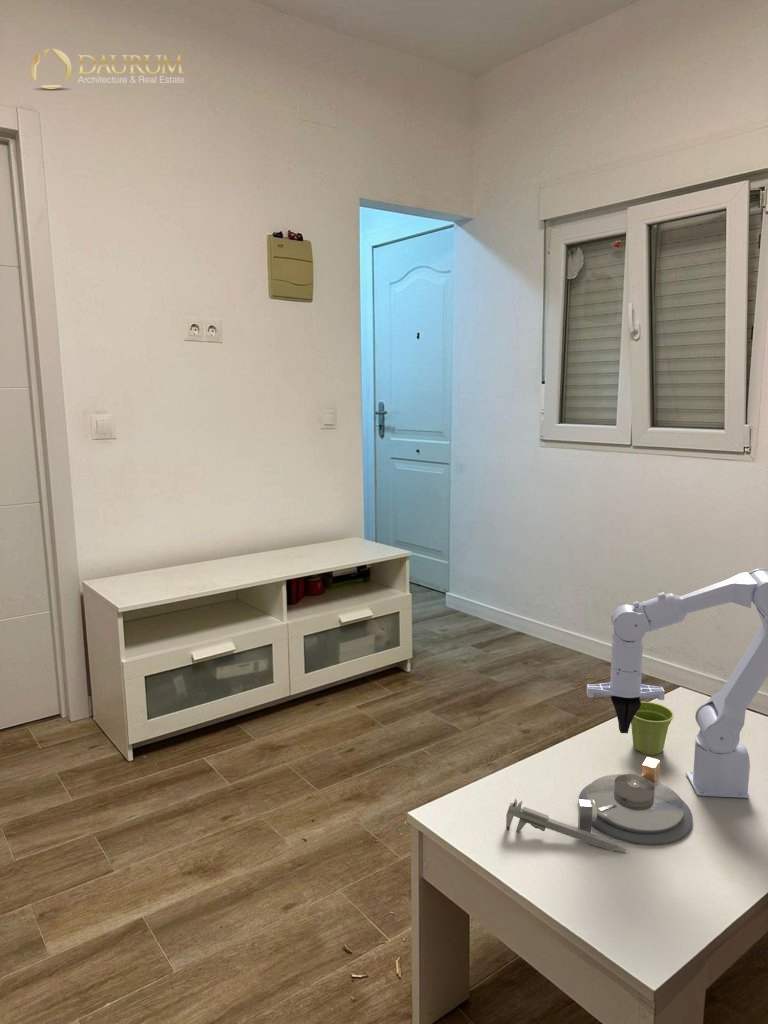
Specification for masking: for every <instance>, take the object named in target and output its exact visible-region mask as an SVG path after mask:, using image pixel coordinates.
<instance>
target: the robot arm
mask: <svg viewBox="0 0 768 1024" xmlns="http://www.w3.org/2000/svg"><path fill="white" fill-rule="evenodd" d="M728 603H729V604H731V603H733V604H736V605H739V606H742V607H745V608H749V609H751V608H752V604H753V605H754V606H755V607H756V610H757V613H758V615H759V617H760V621H761V623H762V625H761V626H760V627H759V630H758V631H757V632H756V634H755V636H754V638H753V639H752V640H751V642H750V643H749V645H748V647H747V648H746V651H745V652H744V654H743V655H742V656H741V658H740V659H739V661H738V663H737V665H736V666H735V667H734V669H733V671H731V674H730V676H729V677H728V678H727V680H726V682H725V683H724V685H723V686H722V688H721V690H720V691H719V692H716V693H714V694H712V695H711V697H710V699H708V700H707V701H706V702H704V703H703V704H701V705H700V706H699V707H698V708H697V710H696V711H695V714H694V715H695V721H696V724H697V725H698V727H699V731H698V733H697V735H696V736H695V744H694V755H693V756H694V761H693V771H686V773H685V774H686V776H687V779H688V781H689V782H690V783H691V786H692V788H693V789H694V791H695V793H696V795H697V796H698V797H699V796H700V797H719V798H722V797H723V798H740V799H747V798H748V799H749V798H750V795H749V782H750V780H749V779H750V770H751V762H750V761H751V760H750V754H749V752H748V749H747V747H746V746H745V745H744V744H743V743H742V744H741V743H740V739H741V737H740V734H741V731H742V729H743V727H744V726H745V718H746V710H748V708H749V705H751V702H753V700H754V698H755V696H756V695H757V693H758V692H759V690H760V689H761V688H762V686H763V684H764V683H765V680H766V679H767V678H768V569H767V568H755V569H753V570H751V571H749V572H748V571H746V572H740V573H738V574H736V575H734V576H731V577H730V578H727V579H724V580H722V581H719V582H716V583H714V584H711V585H708V586H705V587H702V588H699V589H698V590H695V591H692V592H689V593H686V594H684V595H677V594H676V593H675V594H674V593H673V592H669V593H665V592H664V591H662V592H659V593H657V597H654V598H651V599H647V600H644V601H641V602H639V601H638V600H636V601H634V602H632V604H633V605H632V604H621V605H619V606H618V607H616V609H615V610H614V611H613V612H612V615H611V617H610V620H611V624H612V626H613V634H612V642H611V656H610V657H611V658H610V665H611V666H610V681H609V682H602V683H595V684H591V683H590V684H586V697H587V698H592V699H593V698H594V697H604V698H605V697H607V698H608V697H609V698H610V700H611V702H612V705H613V708H614V710H615V713H616V717H617V722H618V724H617V725H618V731H619V733H620V734H629V731H630V730H629V729H630V728H631V727H630V726H631V721H632V719H633V717H634V715H635V714H636V712H637V711H638V710H639V708H640V706H641V702H642V701H641V699H657V700H659V701H665V694H666V693H665V692H666V691H665V689H664V687H662V686H658V685H657V686H656V685H648V684H643V683H642V671H643V669H642V668H643V653H644V652H643V649H644V648H643V638H644V636H645V635H646V633H647V632H649V633H650V632H652V631H655V630H656V631H657V630H659V629H662V628H666V627H669V626H672V625H675V624H679V623H682V622H683V621H684V620H685V618H686V616H687V615H688V614H690V613H694V612H698V611H701V610H705V609H706V610H707V609H709V608H713V607H718V606H721V605H725V604H728Z"/></svg>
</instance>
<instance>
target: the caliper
mask: <svg viewBox="0 0 768 1024" xmlns="http://www.w3.org/2000/svg"><path fill="white" fill-rule="evenodd" d="M522 805H523V800H521V801H520V802H519V803H518V800H517V798H515V799H514V802H510V803H509V806H508V809H507V810H506V815H505V816H506V819H505V828H506V830H507V831H510V828H511V824H512V822H513V820H514V817H516V818H517V819H519V820H518V823H517V826H516V830H515V832H516V833H520V832H521V830H522V829H523V828H524V827H525V825H527V824H528V825H531V826H532V827H533V828H534V829H538V830H540V831H541V832H545V830H546V829H548V830H550V831H554V832H557V833H558V834H561V835H565V836H568V837H571V838H574V839H577V840H579V841H581V842H585V843H587V844H590V845H593V846H596V847H598V848H602V849H603V850H607V851H610V852H615V853H618V852H620V853H622V854H627V848H625V847H624V846H622V845H620V843H619V842H618V841H615V840H611V839H609V838H606V837H604V836H601V835H598V834H595V833H593V832H591V833H590V832H587V831H584V830H581V829H579V828H578V827H576V826H573V825H570V824H567V823H564V822H561V821H558V820H556V819H553V818H550V817H549V814H544V813H542V812H539V811H537V810H533V809H531V808H530V807H526V806H522Z"/></svg>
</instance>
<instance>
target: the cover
mask: <svg viewBox="0 0 768 1024" xmlns="http://www.w3.org/2000/svg"><path fill="white" fill-rule="evenodd" d="M623 774H624V773H623ZM654 790H655V787H654V784H653V783H652V782H651V781H650V780H648V779H647V778H645V777H642V775H638V774H633V773H631V774H630V773H629V774H628V773H626V774H624V775H620V776H618V777H617V778H616V779H615V782H614V799H615V801H616V802H617V803H618V804H620V805H621V806H623V807H626V808H629V809H633V810H646V809H649V808H651V807H652V806H653V804H654Z"/></svg>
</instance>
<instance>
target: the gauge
mask: <svg viewBox="0 0 768 1024" xmlns="http://www.w3.org/2000/svg"><path fill="white" fill-rule="evenodd" d="M578 800H579V799H578ZM577 812H578V813H577V815H578V816H577V817H578V818H577V828H579V829H581V830H584V831H587V832H590V833H592V826H591V824H592V821H597V803H596V800H595V799H590V800H579V805H578V811H577Z"/></svg>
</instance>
